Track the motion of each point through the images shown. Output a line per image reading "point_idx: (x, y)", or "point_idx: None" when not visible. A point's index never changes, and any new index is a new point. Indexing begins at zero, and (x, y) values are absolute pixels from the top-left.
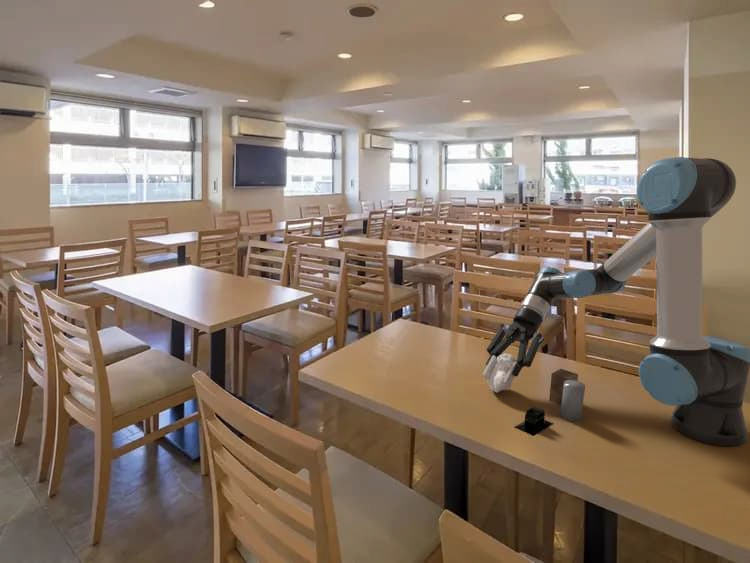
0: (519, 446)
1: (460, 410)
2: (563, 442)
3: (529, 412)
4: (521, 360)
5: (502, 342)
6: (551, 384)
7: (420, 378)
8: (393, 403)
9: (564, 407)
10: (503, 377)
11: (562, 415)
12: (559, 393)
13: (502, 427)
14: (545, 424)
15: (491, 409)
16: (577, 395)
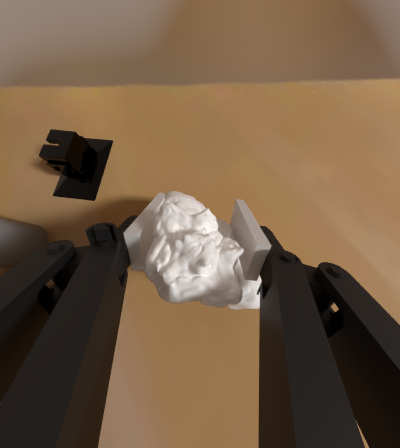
0: (86, 103)
1: (211, 131)
2: (27, 150)
3: (67, 131)
4: (88, 252)
5: (316, 374)
6: None
7: (363, 185)
8: (301, 87)
9: (6, 219)
10: (169, 197)
11: (35, 226)
12: None
13: (128, 129)
14: (64, 177)
15: (172, 167)
16: None
